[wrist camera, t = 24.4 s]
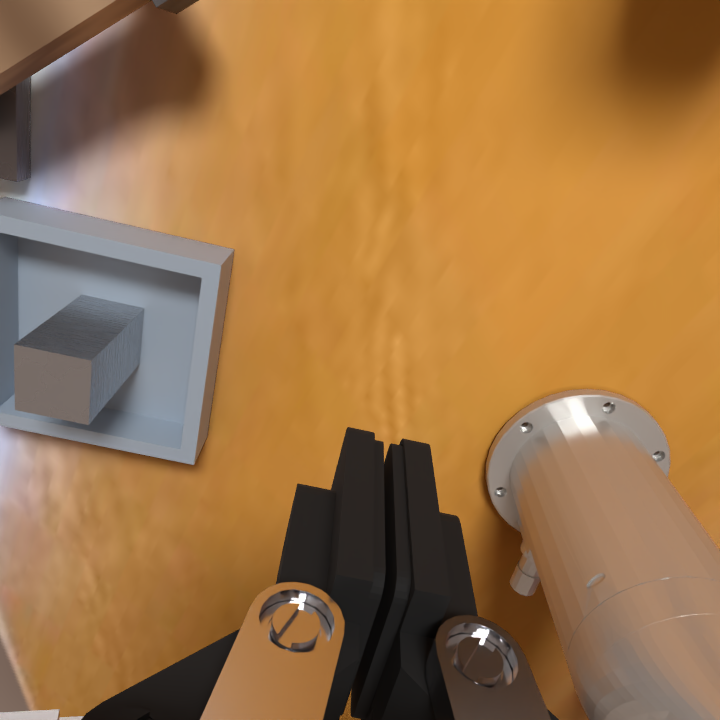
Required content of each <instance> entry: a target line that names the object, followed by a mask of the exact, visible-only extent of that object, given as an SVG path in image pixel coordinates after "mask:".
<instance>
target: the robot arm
mask: <svg viewBox="0 0 720 720" xmlns="http://www.w3.org/2000/svg"><path fill="white" fill-rule="evenodd" d="M525 422H526V423H525ZM523 423H524V424H523ZM669 469H670V449H669V446H668V443H667V439H666V436H665V434H664V433H663V431H662V429H661V428H660V426H659V424H658V423H657V422H656V421H655V419H654V418H653V417H652V416H651V415H650V414H649V412H648V411H646V410H645V409H644V408H643V407H641V406H640V405H639V404H638V403H636V402H635V401H633V400H631V399H629V398H627V397H625V396H623V395H620V394H616V393H612V392H609V391H605V390H594V389H580V390H568V391H564V392H560V393H556V394H552V395H549V396H547V397H545V398H542V399H540V400H538V401H535V402H533V403H532V404H530V405H529V406H527V407H525V408H524V409H522V410H521V411H519V412H518V413H517V414H516V415H515V416H514V417H512V418H511V419H510V420H509V421H508V422H507V423H506V424H505V425H504V427H503V428H502V429H501V431H500V432H499V433H498V434H497V436H496V438H495V440H494V442H493V444H492V446H491V448H490V450H489V454H488V458H487V461H486V482H487V486H488V491H489V494H490V497H491V500H492V503H493V505H494V507H495V508H496V510H497V511H498V513H499V515H500V516H501V517H502V518H503V519H504V520H505V521H506V522H507V523H508V524H509V525H510V526H512V527H513V528H515V529H516V530H518V531H519V532H521V535H522V538H523V541H522V543H521V545H520V550H521V552H522V554H523V555H522V557H521V559H520V560H519V561H518V563H517V566H516V568H515V570H514V572H513V575H512V577H511V579H510V585H511V587H512V588H513V589H514V590H515V591H516V592H518V593H519V594H521V595H525V596H532V595H533V594H534V593H535V591H536V589H537V587H538V585H539V583H540V581H541V584H542V587H543V590H544V594H545V597H546V600H547V603H548V606H549V609H550V612H551V615H552V618H553V621H554V625H555V628H556V631H557V634H558V637H559V640H560V643H561V646H562V649H563V652H564V656H565V659H566V662H567V665H568V668H569V671H570V675H571V678H572V681H573V684H574V687H575V690H576V693H577V696H578V698H579V700H580V703H581V705H582V707H583V709H584V711H585V713H586V714H587V716H588V718H589V720H720V550H719V548H718V547H717V546H716V544H715V543H714V541H713V540H712V539H711V537H710V536H709V534H708V533H707V532H706V530H705V529H704V528H703V526H702V525H701V523H700V522H699V521H698V519H697V518H696V516H695V515H694V514H693V512H692V511H691V510H690V508H689V507H688V505H687V504H686V503H685V501H684V500H683V498H682V497H681V496H680V494H679V493H678V492H677V490H676V489H675V487H674V486H673V485H672V483H671V482H670V480H669V479H668V474H669ZM351 688H352V691H351ZM350 691H351V716H352V717H354V718H360V719H361V720H558V719H557V718H556V717H555V716H554V715H553V714H552V713H551V712H550V711H549V710H548V709H547V708H546V706H545V704H544V701H543V699H542V696H541V694H540V691H539V689H538V686H537V684H536V682H535V679H534V677H533V674H532V672H531V669H530V667H529V664H528V662H527V660H526V657H525V655H524V653H523V652H522V650H521V648H520V646H519V645H518V643H517V642H516V641H515V640H514V639H513V638H512V637H511V636H510V634H509V633H508V632H506V631H505V630H504V629H502V628H501V627H499V626H498V625H497V624H495V623H493V622H491V621H488V620H486V619H484V618H481V617H478V615H477V609H476V604H475V599H474V593H473V588H472V582H471V577H470V572H469V566H468V561H467V555H466V550H465V545H464V539H463V534H462V528H461V523H460V520H459V518H458V517H457V516H455V515H450V514H445V513H440V512H439V505H438V498H437V491H436V484H435V477H434V470H433V463H432V456H431V449H430V445H429V444H426V443H421V442H416V441H412V440H407V439H402V440H401V442H400V444H399V445H396V444H390V446H389V449H388V452H387V455H386V459H385V462H384V444H383V442H382V441H377V440H375V434H374V432H369V431H364V430H359V429H355V428H350V427H348V428H347V430H346V434H345V437H344V441H343V445H342V449H341V453H340V457H339V461H338V465H337V468H336V472H335V476H334V480H333V484H332V488H331V490H327V489H322V488H317V487H312V486H308V485H303V484H297V488H296V492H295V497H294V501H293V505H292V510H291V514H290V519H289V523H288V528H287V532H286V537H285V542H284V546H283V551H282V556H281V561H280V566H279V571H278V576H277V581H276V585H273V586H270V587H268V588H267V589H265V590H264V591H262V592H261V593H260V594H258V595H257V597H256V598H255V600H254V601H253V603H252V604H251V606H250V608H249V611H248V613H247V615H246V617H245V620H244V622H243V624H242V626H241V629H239V630H237V631H235V632H233V633H231V634H229V635H228V636H226V637H224V638H222V639H220V640H218V641H216V642H214V643H213V644H211V645H209V646H207V647H205V648H203V649H201V650H199V651H198V652H196V653H194V654H192V655H190V656H188V657H186V658H184V659H183V660H181V661H179V662H177V663H175V664H173V665H171V666H169V667H168V668H166V669H164V670H162V671H160V672H158V673H156V674H154V675H153V676H151V677H149V678H147V679H145V680H143V681H141V682H139V683H138V684H136V685H134V686H132V687H130V688H128V689H126V690H124V691H123V692H121V693H119V694H117V695H115V696H113V697H111V698H109V699H108V700H106V701H104V702H102V703H101V704H99V705H98V706H96V707H95V708H94V709H92V710H91V711H89V712H88V713H86V715H85V716H79V717H61V718H59V712H60V709H58V710H39V711H21V712H1V713H0V720H339V718H340V715H342V714H343V712H344V709H345V706H346V703H347V700H348V697H349V694H350Z"/></svg>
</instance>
